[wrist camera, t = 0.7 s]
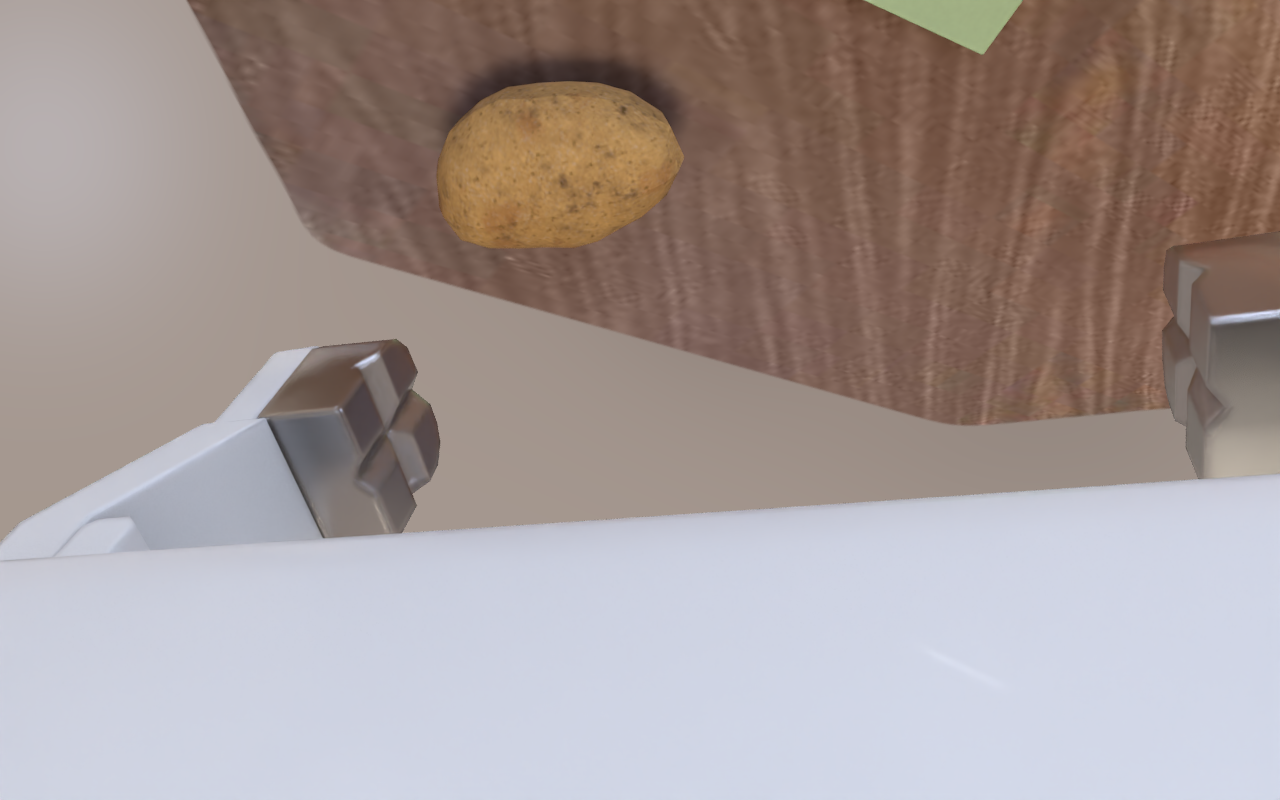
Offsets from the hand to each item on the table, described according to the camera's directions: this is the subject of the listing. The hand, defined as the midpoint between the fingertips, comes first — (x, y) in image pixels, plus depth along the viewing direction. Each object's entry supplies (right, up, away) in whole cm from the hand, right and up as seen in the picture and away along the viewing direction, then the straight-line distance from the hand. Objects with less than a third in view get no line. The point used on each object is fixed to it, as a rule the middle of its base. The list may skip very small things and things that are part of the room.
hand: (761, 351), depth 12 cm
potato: (-6, +16, +54) cm, 56 cm away
